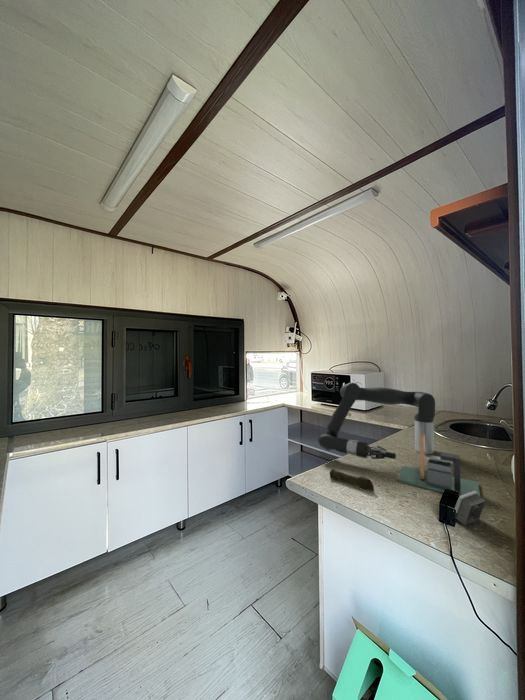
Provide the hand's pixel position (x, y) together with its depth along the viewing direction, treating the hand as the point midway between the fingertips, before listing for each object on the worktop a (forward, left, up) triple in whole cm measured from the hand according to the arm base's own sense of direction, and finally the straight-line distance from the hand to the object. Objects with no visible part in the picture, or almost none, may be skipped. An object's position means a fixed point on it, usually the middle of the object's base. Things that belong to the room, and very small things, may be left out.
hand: (395, 456), depth 123 cm
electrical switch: (+24, +26, -8) cm, 36 cm away
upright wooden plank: (0, +16, -7) cm, 17 cm away
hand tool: (+21, -14, -9) cm, 26 cm away
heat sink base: (0, +16, -8) cm, 18 cm away
